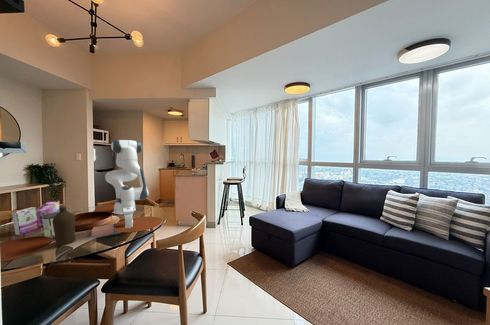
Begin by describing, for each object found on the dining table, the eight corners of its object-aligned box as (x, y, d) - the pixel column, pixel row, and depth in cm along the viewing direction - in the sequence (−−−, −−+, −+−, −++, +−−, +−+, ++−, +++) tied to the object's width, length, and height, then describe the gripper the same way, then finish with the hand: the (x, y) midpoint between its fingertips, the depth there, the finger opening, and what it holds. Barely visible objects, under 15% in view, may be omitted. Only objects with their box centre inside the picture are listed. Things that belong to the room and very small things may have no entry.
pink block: (93, 232, 144) (93, 227, 144) (114, 229, 150) (113, 223, 150) (92, 236, 138) (91, 231, 138) (113, 232, 144) (113, 227, 144)
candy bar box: (33, 228, 152) (31, 206, 151) (39, 228, 151) (36, 207, 150) (14, 235, 142) (11, 212, 140) (19, 235, 141) (17, 212, 139)
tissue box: (55, 230, 149) (53, 211, 147) (68, 231, 148) (66, 212, 146) (39, 237, 139) (37, 217, 137) (53, 237, 138) (51, 217, 136)
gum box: (50, 225, 157) (48, 208, 155) (36, 227, 153) (34, 210, 152) (61, 215, 178) (59, 200, 176) (49, 217, 174) (47, 201, 173)
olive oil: (68, 246, 126) (65, 207, 124) (50, 247, 125) (45, 208, 123) (80, 238, 137) (77, 202, 134) (63, 239, 136) (60, 202, 133)
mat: (91, 232, 146) (91, 231, 146) (137, 224, 160) (136, 223, 160) (89, 239, 135) (89, 238, 135) (137, 230, 149) (137, 229, 149)
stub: (125, 227, 153) (125, 221, 152) (133, 226, 155) (132, 219, 155) (125, 230, 149) (125, 223, 148) (133, 228, 151) (133, 222, 150)
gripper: (123, 204, 158) (124, 221, 159) (123, 212, 140) (124, 232, 142) (133, 203, 161) (134, 220, 162) (133, 211, 143) (134, 230, 145)
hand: (129, 225), depth 152 cm, fingers closed on stub, 5 cm apart
